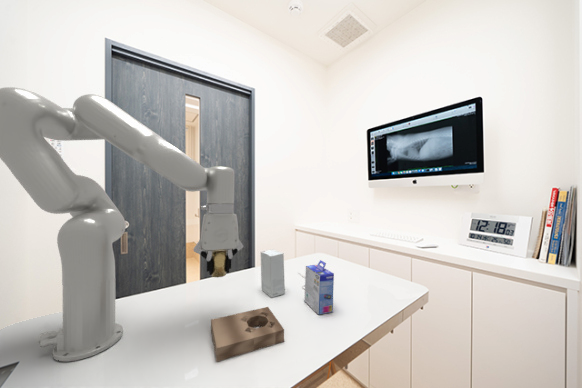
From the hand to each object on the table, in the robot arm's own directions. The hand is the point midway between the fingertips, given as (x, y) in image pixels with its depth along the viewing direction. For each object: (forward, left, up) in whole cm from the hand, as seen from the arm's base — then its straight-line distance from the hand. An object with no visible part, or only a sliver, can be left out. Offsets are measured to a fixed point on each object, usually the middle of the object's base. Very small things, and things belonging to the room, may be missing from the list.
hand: (218, 271), depth 65 cm
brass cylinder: (0, 0, -1) cm, 1 cm away
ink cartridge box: (+30, -6, -14) cm, 34 cm away
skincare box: (+20, +10, -14) cm, 27 cm away
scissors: (+38, +14, -14) cm, 43 cm away
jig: (+5, -11, -14) cm, 18 cm away
